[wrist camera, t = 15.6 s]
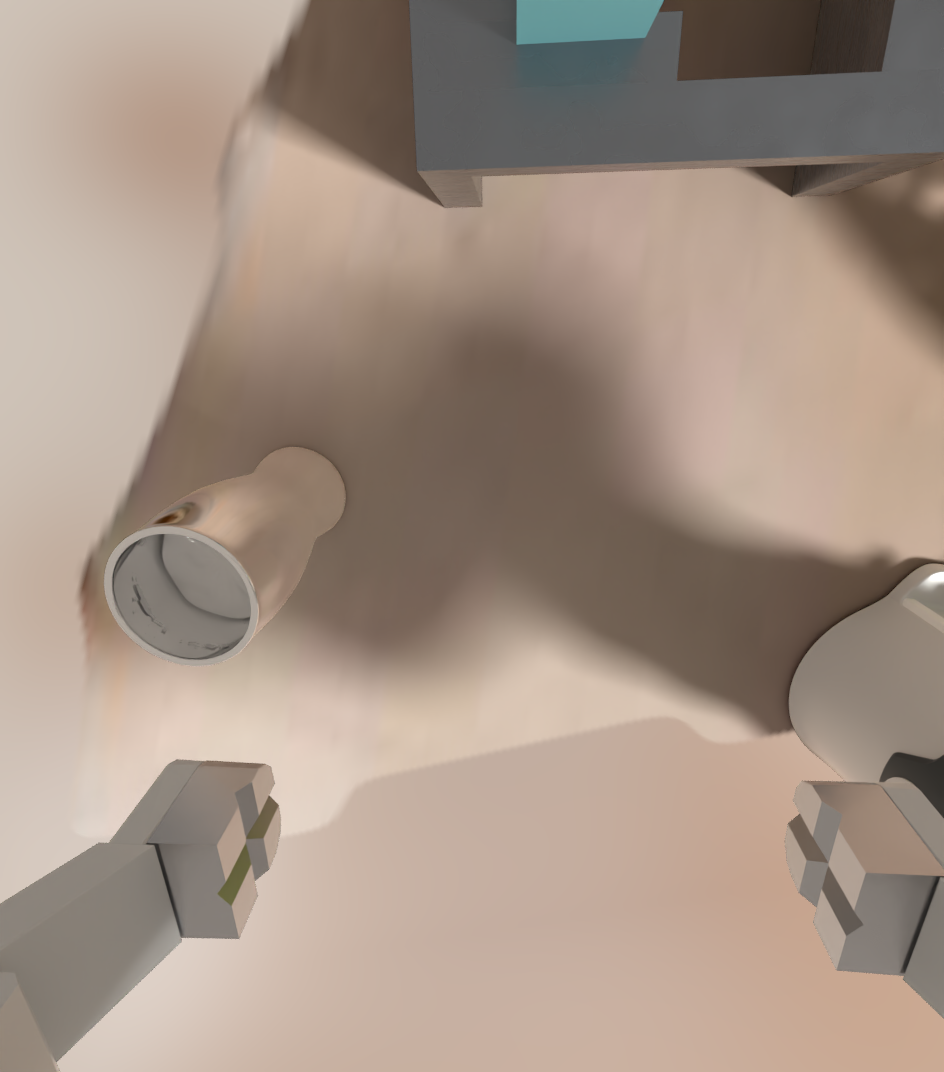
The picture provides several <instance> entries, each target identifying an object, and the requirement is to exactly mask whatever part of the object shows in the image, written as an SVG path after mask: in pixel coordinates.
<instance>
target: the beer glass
mask: <svg viewBox="0 0 944 1072" xmlns="http://www.w3.org/2000/svg"><path fill="white" fill-rule="evenodd" d="M345 502H346V492H345V486H344V483H343V480H342V478H341V476H340V474H339V472H338V471H337V469H336V468H335V467H334V465H333V464H332V463H331V462H330V461H329V460H328V459H326V458H325V457H324V456H322V455H321V454H319V453H317V452H315V451H313V450H310V449H307V448H302V447H285V448H281V449H278V450H276V451H274V452H272V453H270V454H269V455H267V456H266V457H265V458H264V459H263V460H262V461H261V462H260V463H259V465H258V466H257V468H256V469H255V471H254V472H253V473H251V474H248V475H244V476H239V477H235V478H231V479H227V480H223V481H219V482H216V483H213V484H210V485H208V486H205V487H202V488H199V489H197V490H195V491H193V492H192V493H190V494H188V495H186V496H184V497H182V498H180V499H179V500H177V501H175V502H174V503H172V504H171V505H170V506H168V507H167V508H165V509H164V510H162V511H161V512H159V513H158V514H157V515H156V516H154V517H153V518H152V519H150V520H149V521H148V522H147V523H145V524H144V525H143V526H142V527H141V528H139V529H138V530H137V531H136V532H134V533H133V534H131V535H129V536H128V537H126V538H125V539H124V540H122V541H121V542H120V543H119V544H118V545H117V546H116V548H115V549H114V550H113V552H112V553H111V555H110V557H109V559H108V562H107V565H106V568H105V573H104V590H105V596H106V600H107V603H108V606H109V608H110V611H111V613H112V615H113V616H114V618H115V620H116V621H117V623H118V624H119V626H120V627H121V629H122V630H123V631H124V632H125V633H126V634H127V635H128V636H129V637H130V638H131V639H132V640H133V641H134V642H135V643H136V644H137V645H139V646H140V647H141V648H143V649H144V650H146V651H147V652H149V653H151V654H152V655H154V656H156V657H158V658H161V659H163V660H166V661H168V662H171V663H175V664H179V665H185V666H210V665H215V664H219V663H222V662H224V661H227V660H229V659H231V658H232V657H234V656H236V655H237V654H238V653H240V652H241V651H242V650H243V649H244V648H245V647H246V646H247V645H248V643H249V642H250V640H251V639H252V638H253V637H254V636H255V635H256V634H257V633H258V632H259V631H260V630H261V629H262V628H263V627H264V626H265V625H266V624H267V623H268V622H269V621H270V620H271V619H272V618H273V617H274V616H275V615H276V613H277V612H278V611H279V610H280V609H281V607H282V606H283V605H284V604H285V603H286V601H287V600H288V598H289V597H290V595H291V594H292V592H293V591H294V590H295V588H296V587H297V585H298V583H299V581H300V579H301V577H302V575H303V573H304V570H305V568H306V566H307V563H308V560H309V558H310V555H311V552H312V549H313V546H314V543H315V540H316V538H317V537H319V536H321V535H322V534H324V533H326V532H327V531H329V530H330V529H331V528H332V527H334V526H335V525H336V523H337V522H338V521H339V519H340V518H341V516H342V514H343V511H344V508H345Z"/></svg>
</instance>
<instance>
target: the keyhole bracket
mask: <svg viewBox="0 0 944 1072" xmlns="http://www.w3.org/2000/svg"><path fill="white" fill-rule="evenodd" d="M409 11H410V33H411V54H412V76H413V98H414V119H415V141H416V162H417V172H418V173H419V175H420V176H421V177H422V178H423V180H424V181H425V182H426V184H427V185H428V186H429V187H430V189H431V190H432V191H433V193H434V194H435V195H436V197H437V198H438V199H439V200H440V202H441V203H442V204H443V206H444V207H445V208H451V207H482V176H504V175H532V174H561V173H589V172H617V171H645V170H673V169H702V168H730V167H758V166H786V165H796V170H795V177H794V183H793V190H792V196H791V197H795V196H826V195H834V194H837V193H840V192H843V191H846V190H850V189H853V188H856V187H859V186H862V185H865V184H868V183H871V182H874V181H877V180H880V179H883V178H886V177H889V176H893V175H896V174H899V173H902V172H905V171H908V170H911V169H914V168H917V167H920V166H923V165H926V164H929V163H932V162H936V161H939V160H942V159H944V0H822V1H821V7H820V14H819V20H818V27H817V33H816V40H815V46H814V53H813V59H812V66H811V72H810V75H795V76H773V77H751V78H729V79H707V80H685V81H677V74H678V63H679V51H680V40H681V28H682V17H683V11H671V12H658V13H657V15H656V17H655V19H654V21H653V23H652V25H651V27H650V29H649V31H648V33H647V35H646V37H645V38H632V39H613V40H594V41H575V42H557V43H538V44H519V45H516V42H517V0H409Z"/></svg>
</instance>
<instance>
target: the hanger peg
mask: <svg viewBox="0 0 944 1072" xmlns="http://www.w3.org/2000/svg"><path fill="white" fill-rule="evenodd" d="M663 1H664V0H517V42H516V45H519V44H538V43H557V42H575V41H594V40H613V39H632V38H645V37H646V35H647V33H648V31H649V29H650V27H651V25H652V23H653V21H654V19H655V17H656V15H657V13H658V11H659V9H660V7H661V5H662V3H663Z"/></svg>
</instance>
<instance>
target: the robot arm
mask: <svg viewBox="0 0 944 1072" xmlns="http://www.w3.org/2000/svg"><path fill="white" fill-rule="evenodd" d="M789 713H790V718H791V722H792V725H793V727H794V730H795V732H796V733H797V735H798V737H799V738H800V740H801V741H802V742H803V744H804V745H805V746H806V747H807V748H808V749H809V750H810V751H811V752H813V753H814V754H815V755H816V756H817V757H819V758H820V759H821V760H822V761H824V762H825V763H826V764H827V765H829V767H831V768H832V769H833V770H834V771H835V772H836V773H837V774H838V775H839V776H840V777H841V778H842V779H843V780H844V781H845V782H831V781H801V782H800V784H799V785H798V786H797V788H796V791H795V795H794V799H793V802H794V803H795V805H796V807H797V809H798V811H799V813H800V814H799V815H798V816H796V817H795V818H794V819H793V820H792V821H791V822H789V823H788V826H787V832H786V838H785V848H786V858H787V863H788V866H789V870H790V873H791V877H792V879H793V881H794V883H795V885H796V887H797V890H798V892H799V893H800V894H801V895H802V896H804V897H805V898H806V899H807V900H808V901H810V902H811V903H812V904H813V905H814V906H816V907H817V910H816V913H815V917H814V921H813V923H814V925H815V927H816V929H817V931H818V934H819V936H820V938H821V940H822V942H823V944H824V946H825V948H826V950H827V952H828V954H829V956H830V958H831V960H832V962H833V964H834V966H835V968H836V970H838V971H851V972H863V973H874V974H887V975H899V976H904V978H903V980H904V981H905V982H906V983H907V984H908V985H909V986H910V987H911V988H912V989H913V990H915V991H916V992H917V993H918V994H919V995H920V996H921V997H922V998H923V999H924V1000H925V1001H926V1002H927V1003H928V1004H929V1005H930V1006H931V1007H932V1008H933V1009H934V1010H935V1011H936V1012H938V1014H939V1015H941V1016H942V1017H943V1018H944V565H943V564H935V563H934V564H926V565H924V566H921V567H919V568H918V569H916V570H915V571H913V572H912V573H911V574H909V575H908V576H907V577H906V578H905V579H904V580H903V581H902V582H901V583H899V584H898V585H897V586H896V587H895V588H894V589H893V590H892V591H891V592H890V593H889V594H888V595H887V596H886V597H884V598H883V599H881V600H880V601H878V602H876V603H874V604H872V605H870V606H868V607H866V608H864V609H862V610H860V611H858V612H856V613H854V614H852V615H850V616H849V617H847V618H845V619H844V620H842V621H840V622H839V623H838V624H836V625H835V626H833V627H832V628H831V629H830V630H828V631H827V632H826V633H825V634H824V635H823V636H822V637H820V638H819V639H818V640H817V642H816V643H815V644H814V645H813V646H812V647H811V648H810V649H809V651H808V652H807V653H806V655H805V656H804V658H803V659H802V661H801V663H800V664H799V666H798V668H797V670H796V672H795V675H794V677H793V680H792V683H791V687H790V693H789ZM274 784H275V782H274V778H273V773H272V769H271V767H270V766H268V765H266V764H258V763H241V762H223V761H193V760H178V759H177V760H175V761H173V762H171V763H170V764H168V765H167V766H166V767H165V769H164V770H163V771H162V773H161V774H160V775H159V777H158V778H157V779H156V781H155V782H154V783H153V785H152V786H151V787H150V789H149V790H148V791H147V793H146V794H145V795H144V797H143V798H142V799H141V801H140V802H139V803H138V805H137V806H136V807H135V809H134V810H133V811H132V813H131V814H130V815H129V817H128V818H127V819H126V821H125V822H124V823H123V825H122V826H121V827H120V829H119V830H118V831H117V833H116V834H115V835H114V836H113V838H112V839H111V840H110V842H109V843H98V844H96V845H95V846H93V847H92V848H90V849H88V850H86V851H85V852H83V853H81V854H80V855H78V856H77V857H75V858H73V859H72V860H70V861H68V862H67V863H65V864H64V865H62V866H60V867H59V868H57V869H56V870H54V871H52V872H51V873H49V874H47V875H46V876H44V877H43V878H41V879H39V880H38V881H36V882H34V883H33V884H31V885H30V886H28V887H26V888H25V889H23V890H22V891H20V892H18V893H17V894H15V895H14V896H12V897H10V898H9V899H7V900H5V901H4V902H2V903H1V904H0V1072H60V1070H59V1068H58V1065H57V1063H56V1062H57V1061H58V1060H59V1059H60V1058H61V1057H62V1056H63V1055H64V1054H66V1053H67V1052H68V1050H70V1049H71V1048H72V1047H73V1046H74V1045H75V1044H76V1043H77V1042H78V1041H79V1040H80V1039H81V1038H82V1037H83V1036H84V1035H85V1034H86V1033H87V1032H88V1031H89V1030H90V1029H91V1028H93V1027H94V1025H96V1024H97V1023H98V1022H99V1021H100V1020H101V1019H102V1018H103V1017H104V1016H105V1015H106V1014H107V1013H108V1012H109V1011H110V1010H111V1009H112V1008H113V1007H114V1006H115V1005H116V1004H117V1003H118V1002H119V1001H120V1000H121V999H123V998H124V997H125V996H126V995H127V994H128V993H129V992H130V991H131V990H132V989H133V988H134V987H135V986H136V985H137V984H138V983H139V982H140V981H141V980H142V979H143V978H144V977H145V976H146V975H147V974H148V973H150V971H152V970H153V969H154V968H155V967H156V966H157V965H158V964H159V963H160V962H161V961H162V960H163V959H164V958H165V957H166V956H167V955H168V954H169V953H170V952H171V951H172V950H173V949H174V948H175V947H176V946H178V945H179V943H181V941H182V939H181V938H225V939H227V938H228V939H239V938H240V936H241V933H242V931H243V929H244V927H245V924H246V922H247V920H248V917H249V915H250V913H251V910H252V908H253V906H254V904H255V901H256V899H257V896H258V895H257V890H256V884H255V881H256V880H257V879H258V878H259V877H260V876H261V875H263V874H264V873H265V872H266V871H268V870H269V869H270V866H271V864H272V861H273V859H274V857H275V854H276V850H277V846H278V842H279V837H280V832H281V816H280V810H279V805H278V804H277V803H276V802H275V801H274V800H273V799H272V798H271V797H270V796H269V794H270V792H271V790H272V788H273V786H274Z"/></svg>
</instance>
